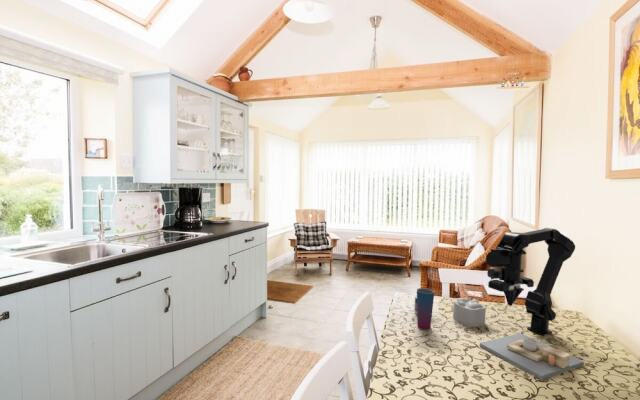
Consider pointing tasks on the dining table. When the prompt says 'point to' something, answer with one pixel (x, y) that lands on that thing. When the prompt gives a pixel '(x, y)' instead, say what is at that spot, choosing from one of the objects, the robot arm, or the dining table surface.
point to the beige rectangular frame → (541, 353)
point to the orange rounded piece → (551, 360)
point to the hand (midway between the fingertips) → (509, 305)
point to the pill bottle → (415, 304)
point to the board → (525, 363)
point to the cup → (424, 307)
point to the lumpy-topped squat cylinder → (469, 312)
